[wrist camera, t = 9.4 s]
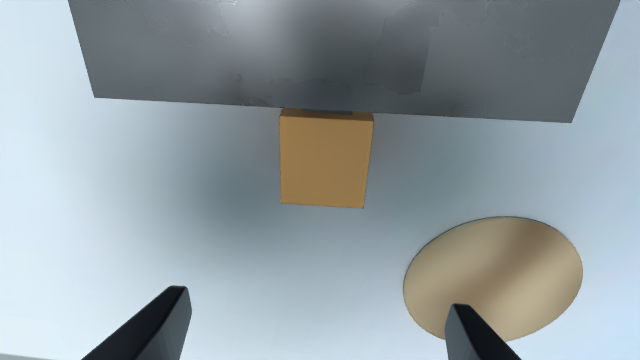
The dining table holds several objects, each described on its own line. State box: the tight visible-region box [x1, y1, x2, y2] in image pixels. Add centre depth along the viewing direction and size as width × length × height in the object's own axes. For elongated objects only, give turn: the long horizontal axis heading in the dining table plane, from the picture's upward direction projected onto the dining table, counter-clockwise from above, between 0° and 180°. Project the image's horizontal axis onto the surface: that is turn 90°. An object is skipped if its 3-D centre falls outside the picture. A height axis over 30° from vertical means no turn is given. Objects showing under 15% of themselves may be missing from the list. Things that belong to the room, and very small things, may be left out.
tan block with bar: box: [280, 108, 374, 208], centre depth 14 cm, size 4×13×3 cm, turn 177°
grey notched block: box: [68, 0, 620, 123], centre depth 13 cm, size 16×5×5 cm, turn 88°
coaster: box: [403, 217, 583, 342], centre depth 22 cm, size 10×10×1 cm
